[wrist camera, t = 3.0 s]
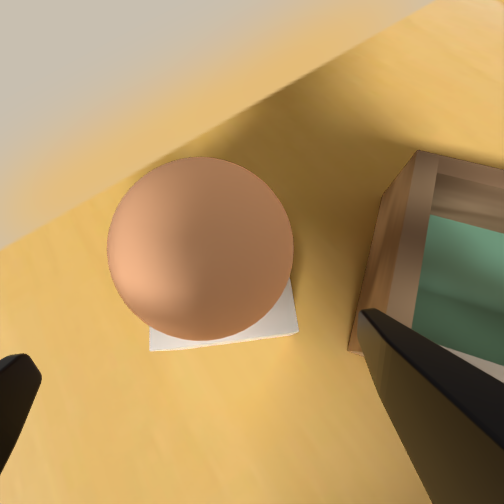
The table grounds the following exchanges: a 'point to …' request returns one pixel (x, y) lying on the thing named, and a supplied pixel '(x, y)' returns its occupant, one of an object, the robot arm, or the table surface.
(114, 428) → the table surface
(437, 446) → the robot arm
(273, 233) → the ball
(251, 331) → the white square holder
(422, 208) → the wooden crate
